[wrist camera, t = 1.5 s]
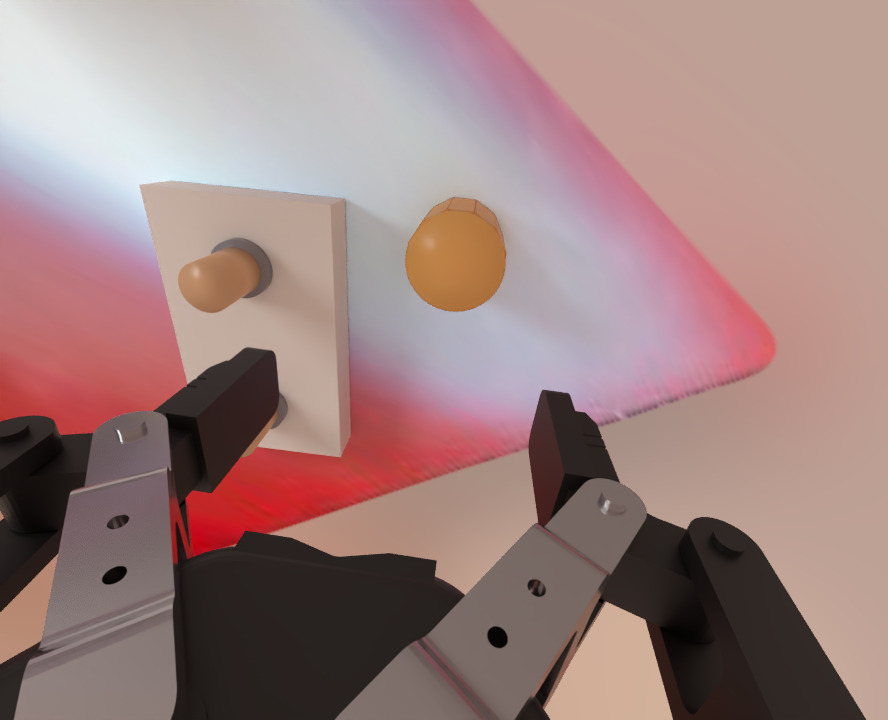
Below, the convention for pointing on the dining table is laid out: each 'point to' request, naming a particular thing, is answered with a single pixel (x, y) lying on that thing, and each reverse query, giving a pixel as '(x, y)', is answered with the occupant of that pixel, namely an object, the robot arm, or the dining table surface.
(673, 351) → the dining table surface
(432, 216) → the cap
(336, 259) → the plate with orange knobs
